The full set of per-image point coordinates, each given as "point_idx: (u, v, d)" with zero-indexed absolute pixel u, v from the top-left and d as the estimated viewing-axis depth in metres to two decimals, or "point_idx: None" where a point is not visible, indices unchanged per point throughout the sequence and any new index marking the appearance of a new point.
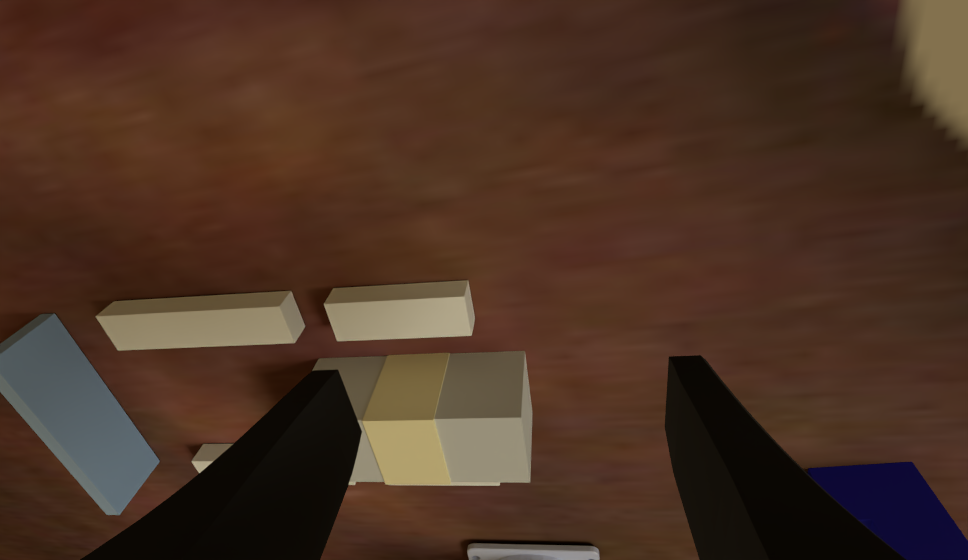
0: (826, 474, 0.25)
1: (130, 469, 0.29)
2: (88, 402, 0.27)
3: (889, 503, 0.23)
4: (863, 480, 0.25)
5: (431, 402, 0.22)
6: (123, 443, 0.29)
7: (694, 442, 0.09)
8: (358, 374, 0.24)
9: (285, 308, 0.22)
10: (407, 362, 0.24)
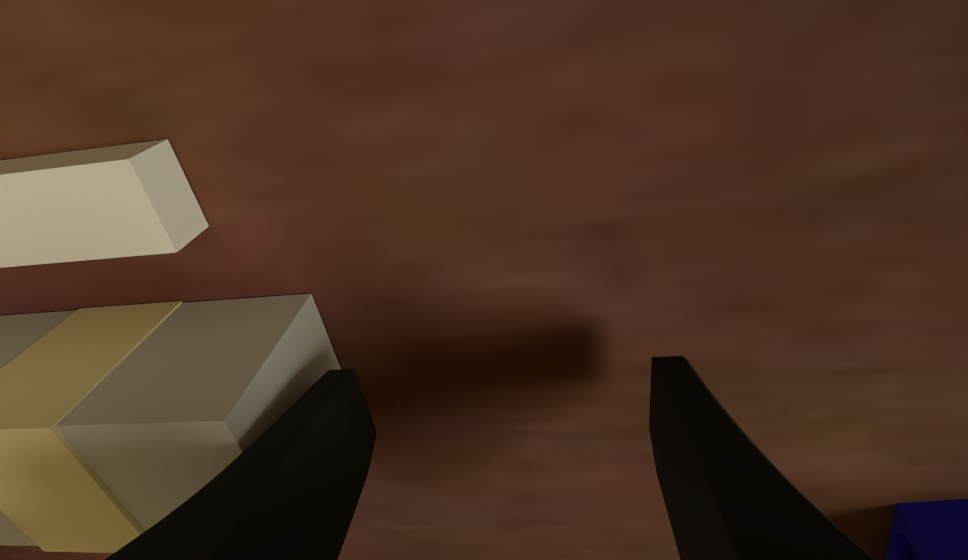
0: (933, 515, 0.14)
1: None
2: None
3: None
4: None
5: (78, 391, 0.10)
6: None
7: (674, 442, 0.09)
8: (2, 342, 0.13)
9: None
10: (98, 320, 0.13)
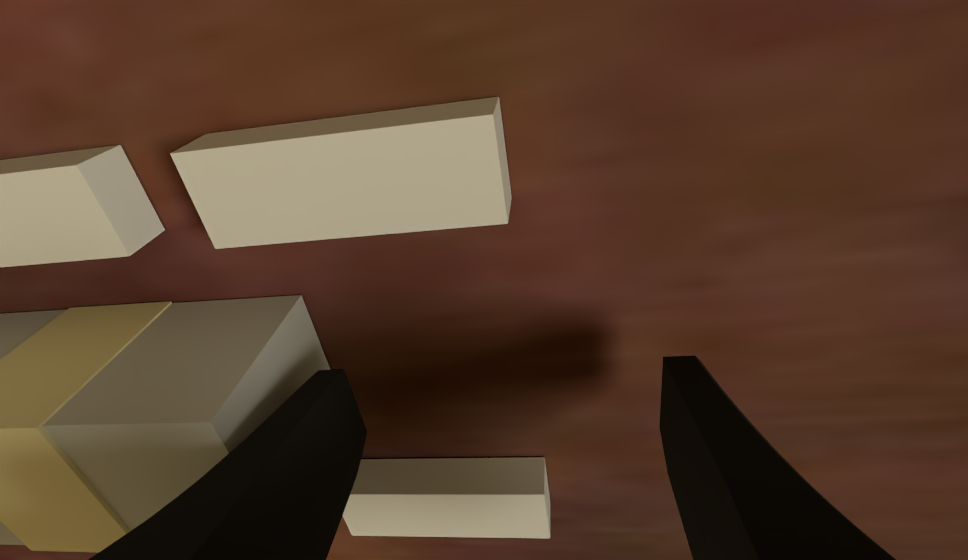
0: None
1: None
2: None
3: None
4: None
5: (65, 391, 0.10)
6: None
7: (688, 442, 0.09)
8: None
9: (99, 176, 0.10)
10: (88, 319, 0.13)
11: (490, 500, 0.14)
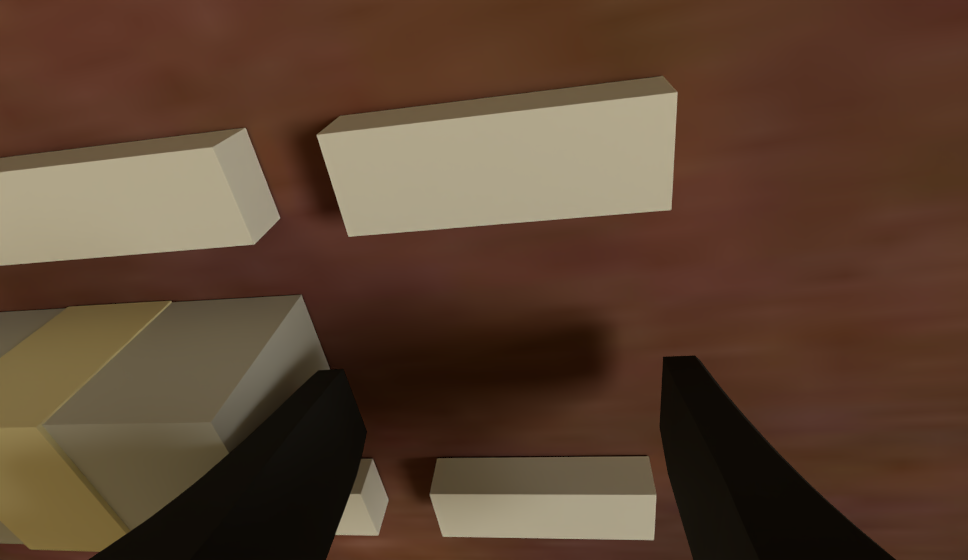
0: None
1: None
2: None
3: None
4: None
5: (65, 390, 0.10)
6: None
7: (688, 442, 0.09)
8: None
9: (230, 159, 0.10)
10: (87, 318, 0.13)
11: (597, 501, 0.14)
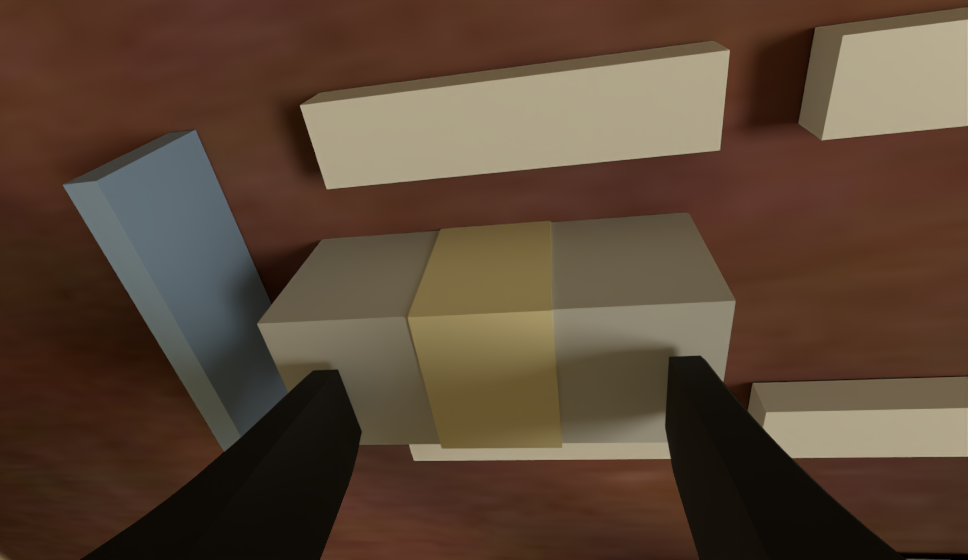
0: None
1: None
2: (242, 308, 0.15)
3: None
4: None
5: (537, 285, 0.11)
6: (285, 389, 0.17)
7: (694, 441, 0.09)
8: (391, 254, 0.13)
9: (723, 66, 0.10)
10: (478, 235, 0.14)
11: (940, 415, 0.14)
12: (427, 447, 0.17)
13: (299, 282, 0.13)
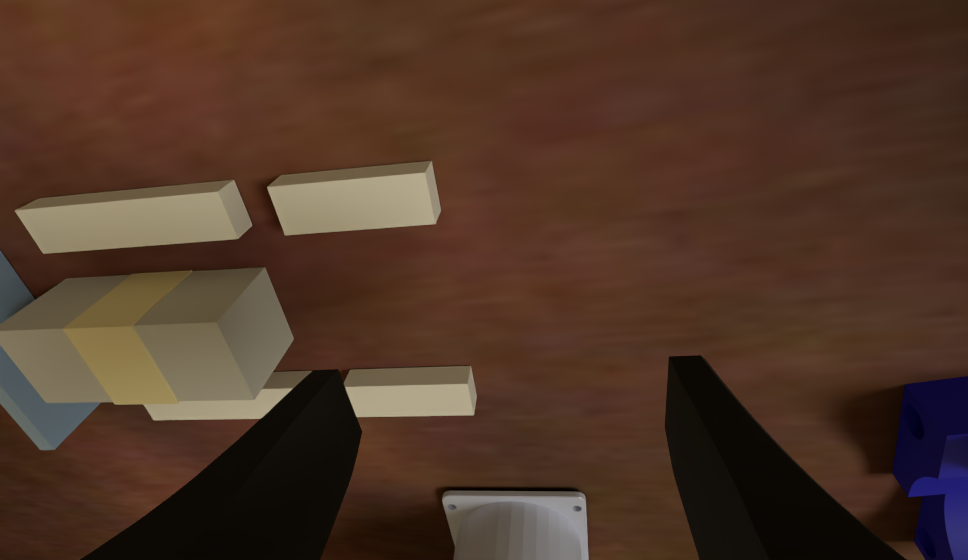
0: (928, 388, 0.22)
1: None
2: None
3: None
4: None
5: (141, 312, 0.21)
6: None
7: (694, 442, 0.09)
8: (92, 290, 0.23)
9: (225, 197, 0.20)
10: (145, 279, 0.23)
11: (436, 388, 0.24)
12: (158, 410, 0.27)
13: (30, 306, 0.22)
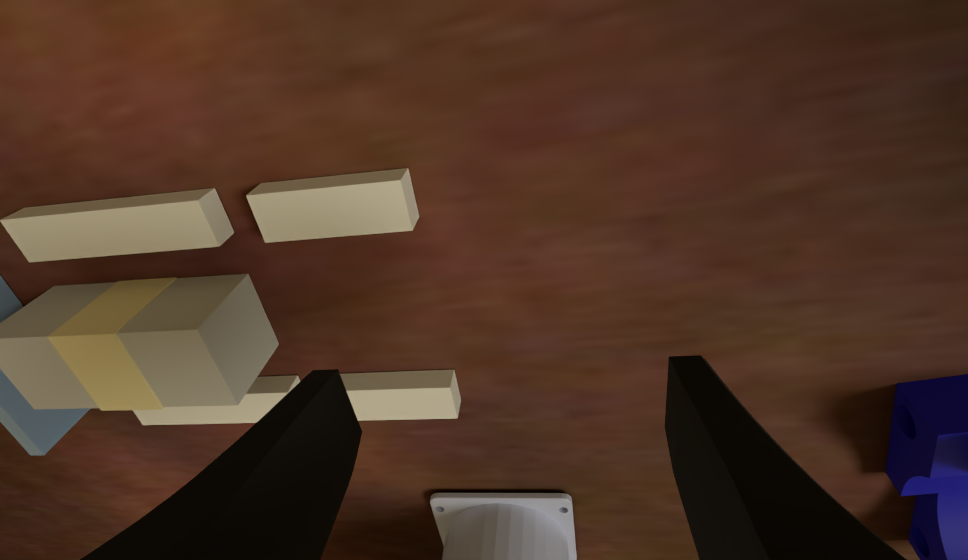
0: (919, 388, 0.22)
1: None
2: None
3: None
4: (966, 391, 0.21)
5: (124, 319, 0.21)
6: None
7: (694, 442, 0.09)
8: (78, 298, 0.23)
9: (206, 205, 0.20)
10: (131, 286, 0.23)
11: (420, 392, 0.24)
12: (147, 415, 0.27)
13: (17, 314, 0.22)
